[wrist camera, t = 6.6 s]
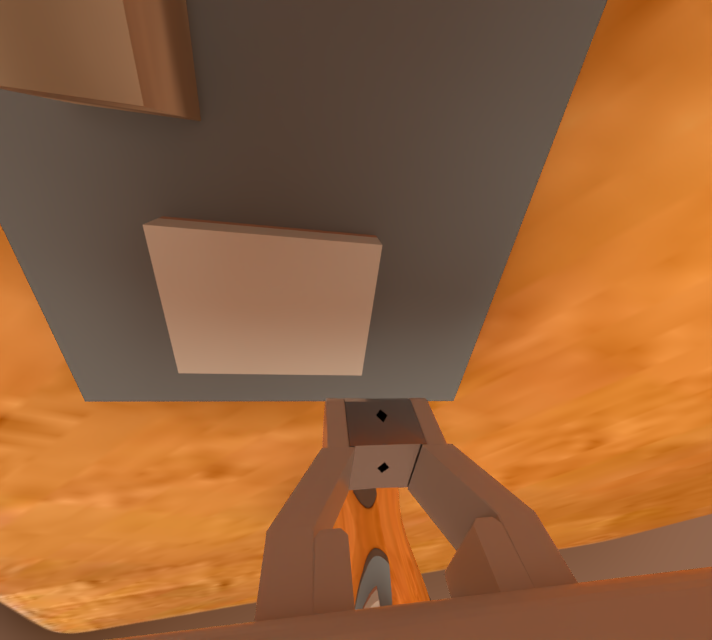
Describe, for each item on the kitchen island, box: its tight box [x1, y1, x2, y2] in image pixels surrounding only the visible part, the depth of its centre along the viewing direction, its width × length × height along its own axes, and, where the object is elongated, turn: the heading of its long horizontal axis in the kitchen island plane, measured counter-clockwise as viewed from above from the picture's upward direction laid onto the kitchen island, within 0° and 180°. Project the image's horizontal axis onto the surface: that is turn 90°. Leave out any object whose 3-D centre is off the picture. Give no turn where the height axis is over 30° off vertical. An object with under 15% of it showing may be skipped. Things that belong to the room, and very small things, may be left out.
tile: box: [143, 216, 382, 376], centre depth 14 cm, size 2×7×9 cm
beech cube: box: [0, 0, 201, 121], centre depth 7 cm, size 4×4×4 cm
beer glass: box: [332, 487, 431, 610], centre depth 18 cm, size 7×7×15 cm
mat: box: [0, 0, 607, 401], centre depth 13 cm, size 22×20×1 cm
